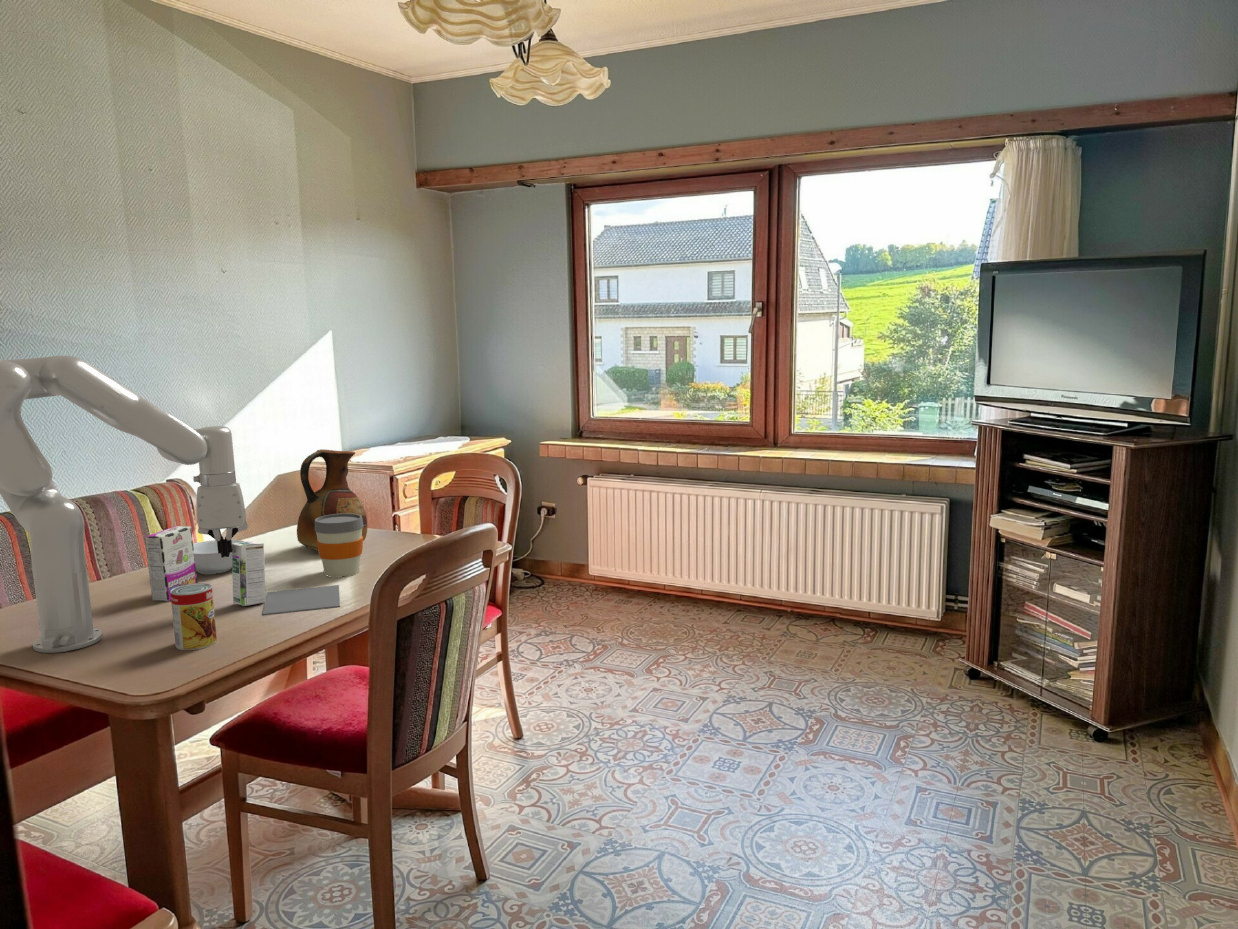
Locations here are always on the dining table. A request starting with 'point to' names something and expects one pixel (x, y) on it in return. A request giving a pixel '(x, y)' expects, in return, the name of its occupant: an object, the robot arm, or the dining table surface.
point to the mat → (301, 599)
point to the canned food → (193, 616)
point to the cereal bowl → (211, 558)
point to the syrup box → (248, 573)
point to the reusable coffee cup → (340, 543)
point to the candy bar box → (170, 561)
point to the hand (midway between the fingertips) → (225, 555)
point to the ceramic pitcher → (327, 495)
